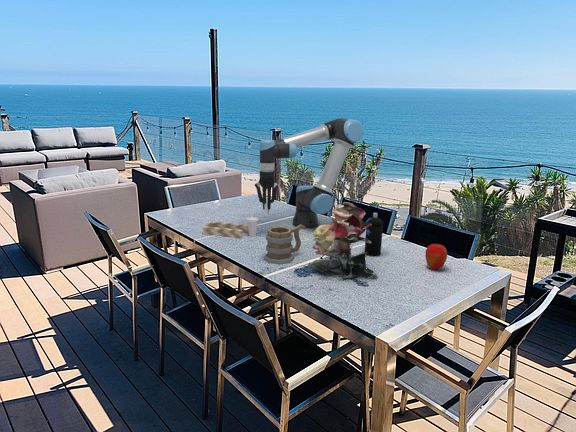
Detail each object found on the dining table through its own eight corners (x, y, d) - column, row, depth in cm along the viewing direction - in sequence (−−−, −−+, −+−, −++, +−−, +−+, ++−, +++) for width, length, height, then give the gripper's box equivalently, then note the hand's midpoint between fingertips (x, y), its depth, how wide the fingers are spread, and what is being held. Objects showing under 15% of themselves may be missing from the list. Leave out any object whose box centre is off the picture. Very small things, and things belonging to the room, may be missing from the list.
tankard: (272, 265, 193) (273, 233, 189) (261, 256, 204) (261, 225, 200) (311, 258, 202) (312, 227, 198) (298, 250, 213) (299, 220, 209)
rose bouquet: (351, 255, 208) (355, 193, 200) (383, 278, 181) (389, 208, 173) (301, 260, 200) (303, 196, 192) (326, 286, 173) (330, 213, 165)
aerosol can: (382, 251, 213) (385, 212, 207) (380, 257, 205) (383, 216, 200) (365, 249, 215) (368, 210, 210) (362, 255, 208) (365, 214, 203)
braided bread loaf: (249, 231, 240) (249, 224, 239) (241, 238, 229) (241, 231, 228) (212, 228, 246) (212, 221, 245) (203, 234, 235) (202, 227, 234)
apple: (442, 274, 187) (445, 247, 184) (421, 269, 191) (424, 243, 188) (447, 267, 194) (450, 241, 191) (427, 263, 199) (429, 238, 196)
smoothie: (246, 234, 237) (246, 208, 233) (258, 233, 237) (258, 208, 234) (246, 237, 231) (246, 212, 227) (258, 237, 231) (258, 211, 227)
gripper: (252, 171, 221) (252, 216, 227) (277, 172, 217) (276, 218, 224) (257, 168, 228) (257, 212, 234) (281, 170, 224) (280, 214, 231)
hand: (266, 215), depth 229 cm, fingers closed
